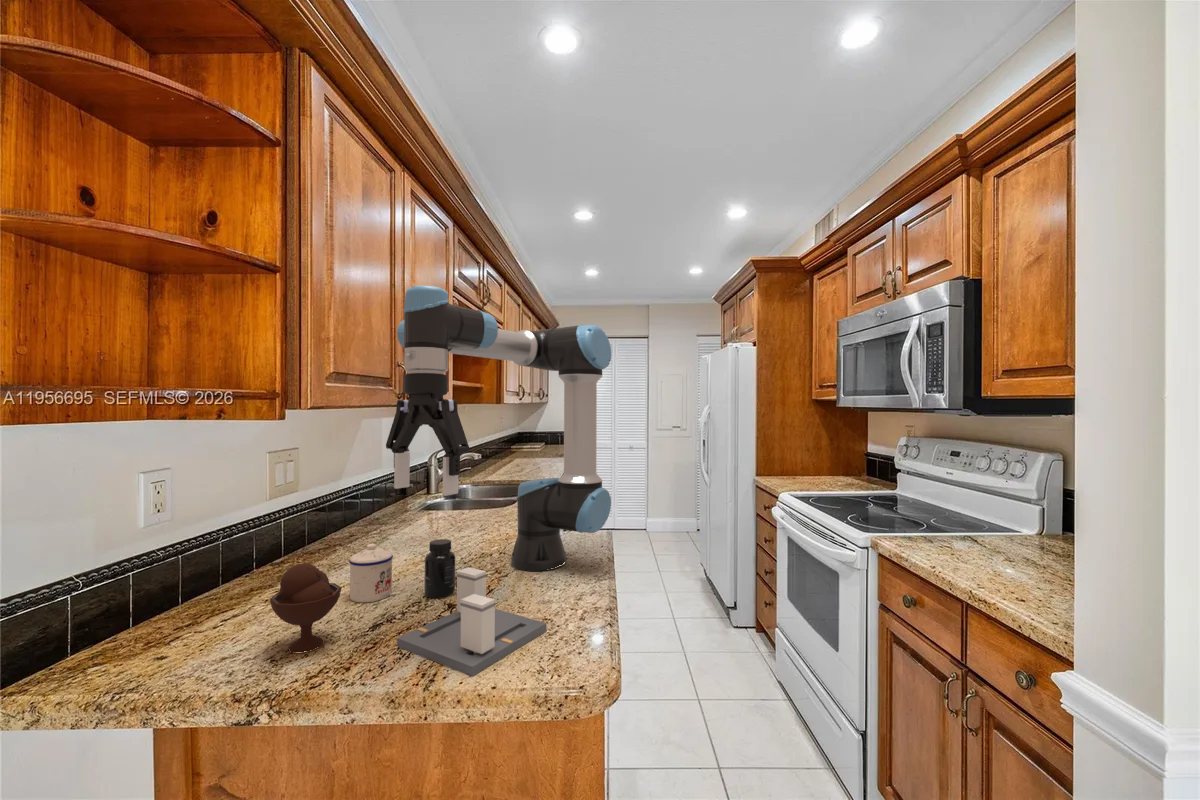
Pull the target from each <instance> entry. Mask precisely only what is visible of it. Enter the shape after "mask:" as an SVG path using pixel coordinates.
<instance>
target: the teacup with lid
mask: <svg viewBox="0 0 1200 800" xmlns="http://www.w3.org/2000/svg"><path fill="white" fill-rule="evenodd" d="M393 558H394V555H393V553H392V552H391V551H390V550H384V549H382V548H380V547H377V544H376V543H368V544H367V545H366V548H365V549H363V550H361V551H359V552H357V553H355V554H353V555H352V556H351V557H350V558H349V560H348V563H349V564H350V567H349V569H350V570H349V573H350V574H349V579H350V580H349V598H350V601H352V602H355V603H372V602H377V601H380V600H383V599H386V598H387V597H389V596H390V595H391V594H392V589H393V588H392V583H393V580H392V578H393V575H392V569H393V566H392V565H393V563H392V562H393Z"/></svg>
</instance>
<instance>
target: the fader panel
mask: <svg viewBox="0 0 1200 800" xmlns="http://www.w3.org/2000/svg"><path fill="white" fill-rule="evenodd" d="M546 632H547V622H543V621H539V620H537V619H533V618H529V617H526V616H521V615H518V614H515V613H513V612H509V611H505V610H501V609H498V608H495V647H493V648H492V649H490V650H488V651H486V652H485V653H483V654H480V653H476V654H474V653H473V651H472V650H469V649H466V648H463V647H461V612H457V610H456V611H455V612H451V613H450V614H448V615H445V616H443V617H440V618H439V619H436V620H433V621H432V622H430V623H428V624H425V625H423V626H421V627H418V628H417V629H414V630H412V631H410V632H407V633H405V634H402V635H401V636H398V637H396V647H397V646H398V647H397V648H400V649H403V650H405V651H407V652H410V653H413V654H415V655H418V656H419V657H422V658H425V659H428V660H431V661H432V662H436V663H438V664H441V665H442V666H445V667H448V668H450V669H453V670H456V671H458V672H461V673H463V674H465V675H467V676H471V677H474V676H475V675H477V674H479V673H480V672H482V671H484V670H485V669H487V668H489V667H490V666H492V665H493V664H495V663H497V662H498V661H500V660H502V659H503V658H505V657H507V656H508V655H510V654H511V653H514V652H516V650H518V649H520V648H521V647H523V646H525V645H526V644H528V643H529V642H531V641H533V640H535V639H536V638H537V637H539V636H540V635H542V634H544V633H546Z"/></svg>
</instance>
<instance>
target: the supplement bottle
mask: <svg viewBox="0 0 1200 800" xmlns="http://www.w3.org/2000/svg"><path fill="white" fill-rule="evenodd" d="M428 546H429V547H428V548H429V549H428V551H429V552H428V553H426V556H425V558H424V575H423V577H424V581H423V582H424V586H423V587H424V588H423V590H424V591H423V592H424V595H425V596H426V597H427V598H428V599H429V598H430V599H443V598H448V597H450V596H452V595H453V594H454V592H455V591H456V554H455V553H454V551H452V540H450V539H447V538H438V539H434V540H431V541H430V542H429V545H428Z"/></svg>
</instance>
